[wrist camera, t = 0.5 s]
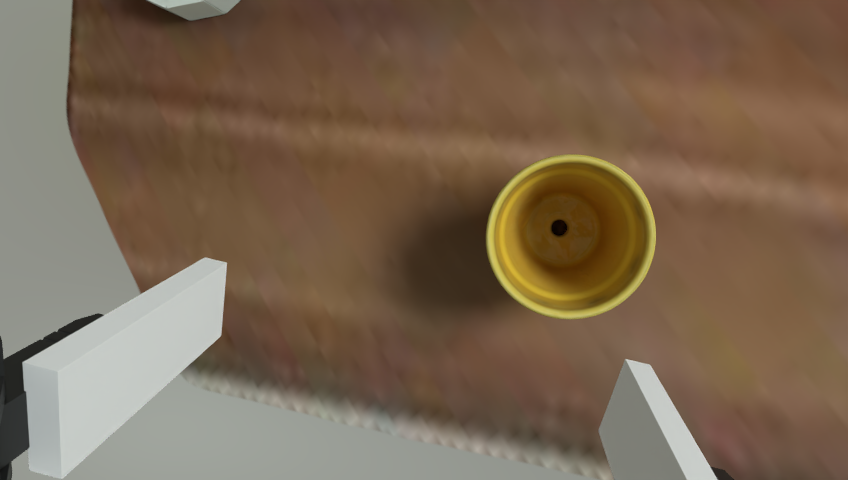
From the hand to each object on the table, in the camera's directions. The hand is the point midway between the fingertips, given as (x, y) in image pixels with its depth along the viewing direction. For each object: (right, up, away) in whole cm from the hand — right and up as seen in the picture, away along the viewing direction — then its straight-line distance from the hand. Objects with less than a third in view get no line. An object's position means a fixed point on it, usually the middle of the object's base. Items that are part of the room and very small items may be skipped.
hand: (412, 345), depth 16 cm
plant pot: (+11, +4, +24) cm, 27 cm away
